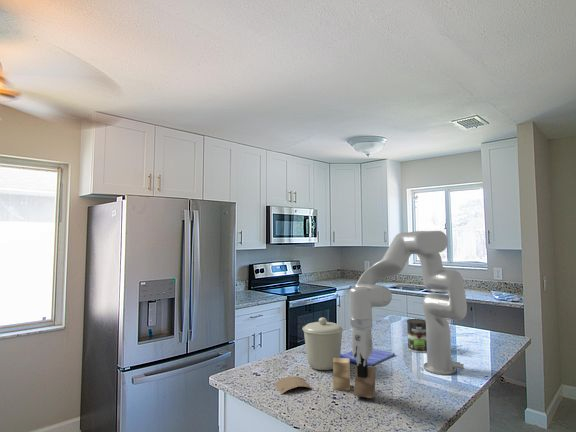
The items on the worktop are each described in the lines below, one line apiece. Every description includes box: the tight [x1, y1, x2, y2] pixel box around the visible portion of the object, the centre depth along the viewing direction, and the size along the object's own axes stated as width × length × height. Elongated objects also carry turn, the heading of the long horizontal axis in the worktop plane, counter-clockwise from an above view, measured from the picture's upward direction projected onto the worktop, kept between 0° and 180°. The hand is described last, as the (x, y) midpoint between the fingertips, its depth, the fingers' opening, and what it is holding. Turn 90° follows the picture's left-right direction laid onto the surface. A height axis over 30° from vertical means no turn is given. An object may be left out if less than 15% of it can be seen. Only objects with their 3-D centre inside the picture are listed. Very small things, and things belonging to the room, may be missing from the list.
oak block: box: [332, 358, 351, 392], centre depth 136 cm, size 6×5×10 cm
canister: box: [302, 317, 345, 371], centre depth 159 cm, size 18×18×21 cm
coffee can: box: [406, 318, 427, 354], centre depth 180 cm, size 10×10×14 cm
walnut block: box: [353, 365, 377, 399], centre depth 128 cm, size 6×5×10 cm
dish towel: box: [340, 348, 396, 367], centre depth 169 cm, size 17×24×3 cm
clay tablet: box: [273, 375, 313, 395], centre depth 137 cm, size 14×10×3 cm
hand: (362, 376), depth 125 cm, fingers closed
